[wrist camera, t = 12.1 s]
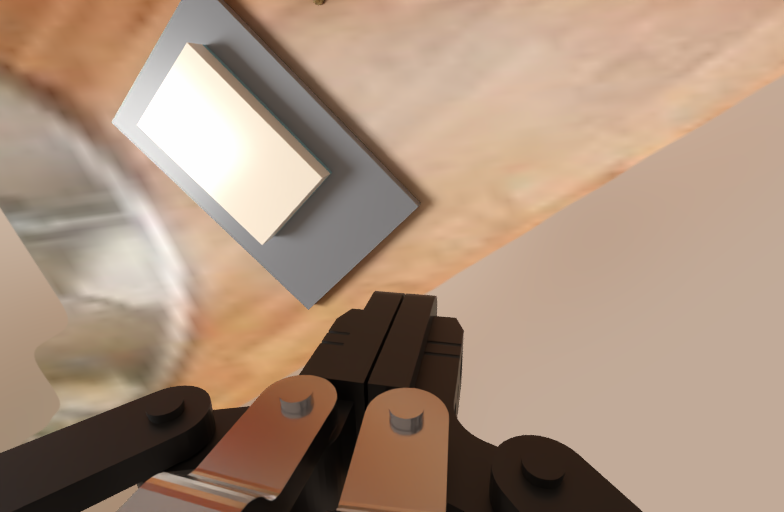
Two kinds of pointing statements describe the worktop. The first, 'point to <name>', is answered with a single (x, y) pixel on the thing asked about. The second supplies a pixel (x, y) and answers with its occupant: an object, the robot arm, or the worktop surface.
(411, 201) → the board
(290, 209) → the tile
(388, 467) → the robot arm
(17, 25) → the worktop surface
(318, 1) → the rock
